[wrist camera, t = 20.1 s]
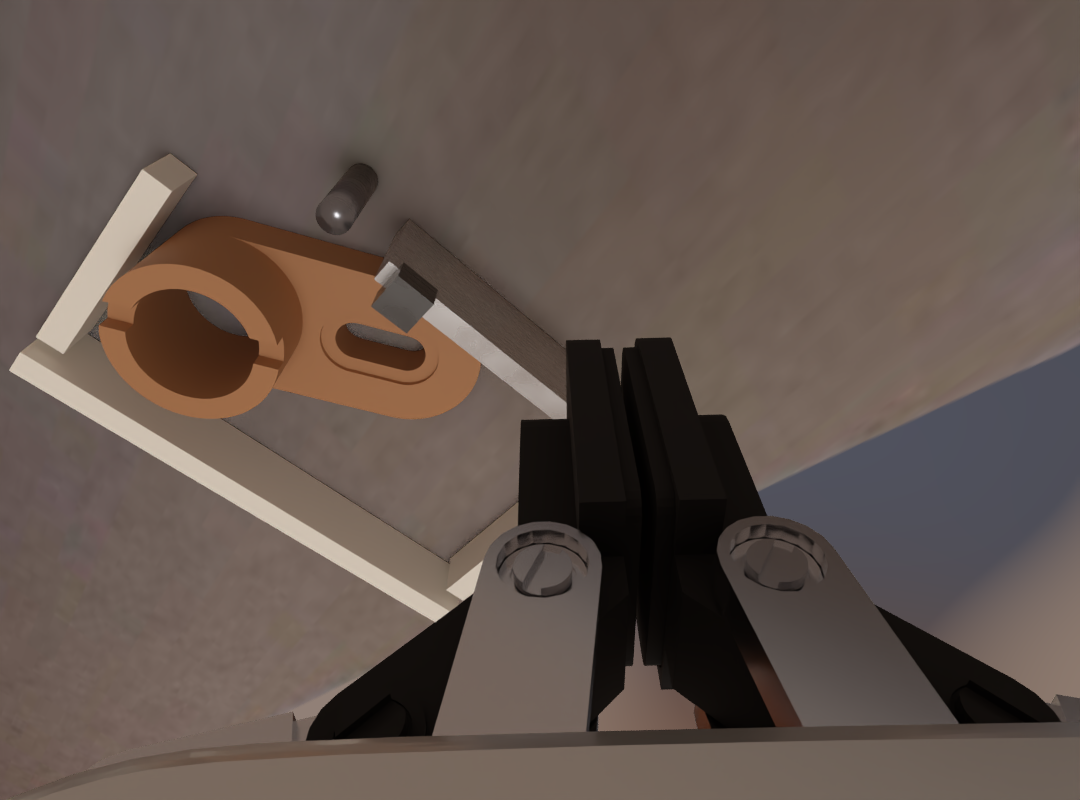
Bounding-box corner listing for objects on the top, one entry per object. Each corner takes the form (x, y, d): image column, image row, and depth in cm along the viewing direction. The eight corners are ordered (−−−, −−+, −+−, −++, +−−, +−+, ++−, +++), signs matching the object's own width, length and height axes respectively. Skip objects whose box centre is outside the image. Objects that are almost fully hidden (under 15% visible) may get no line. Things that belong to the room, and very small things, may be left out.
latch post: (358, 157, 36) (329, 191, 31) (384, 178, 36) (360, 216, 31) (339, 180, 36) (308, 217, 31) (365, 201, 37) (338, 242, 32)
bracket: (162, 332, 41) (100, 395, 35) (165, 195, 37) (96, 241, 31) (464, 407, 44) (454, 478, 38) (500, 288, 40) (494, 347, 34)
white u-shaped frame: (170, 153, 36) (132, 174, 32) (585, 471, 47) (589, 512, 43) (52, 335, 41) (8, 370, 38) (448, 582, 52) (442, 626, 49)
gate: (645, 409, 44) (664, 488, 38) (622, 428, 45) (636, 509, 38) (413, 213, 37) (388, 268, 31) (390, 240, 38) (361, 299, 32)
